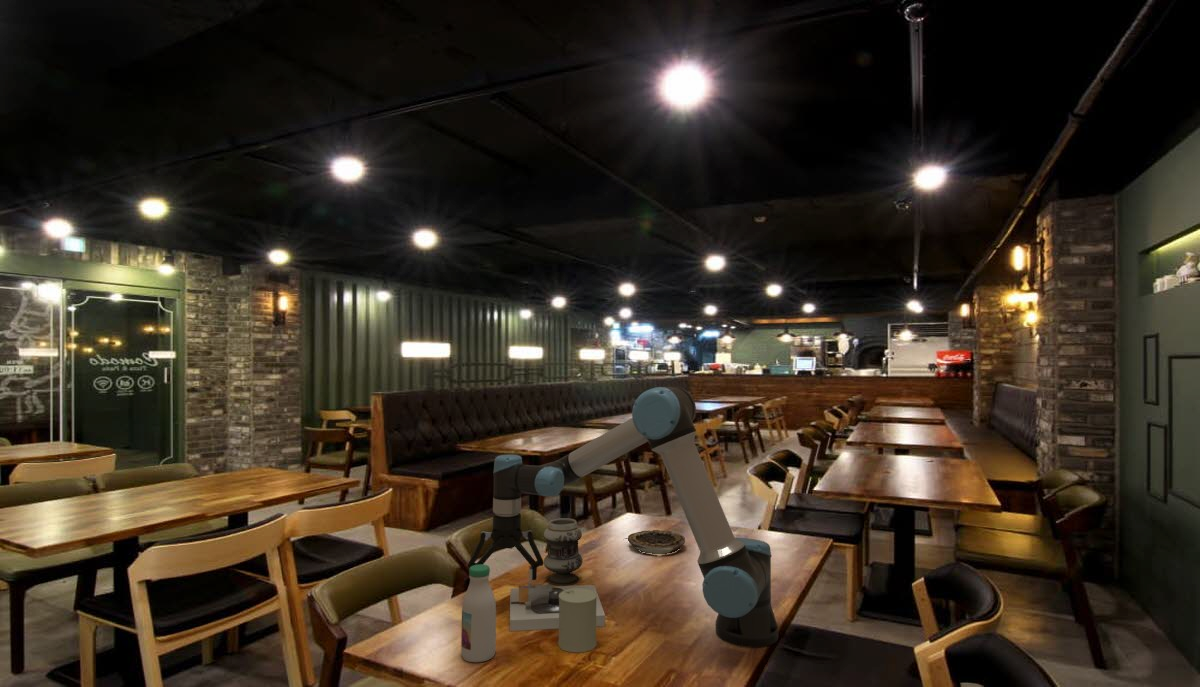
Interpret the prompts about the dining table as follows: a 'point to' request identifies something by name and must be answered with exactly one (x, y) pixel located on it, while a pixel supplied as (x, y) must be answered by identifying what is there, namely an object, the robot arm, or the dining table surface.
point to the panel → (530, 620)
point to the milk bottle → (478, 617)
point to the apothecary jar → (563, 551)
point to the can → (577, 620)
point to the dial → (541, 598)
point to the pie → (656, 541)
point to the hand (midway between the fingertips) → (505, 592)
